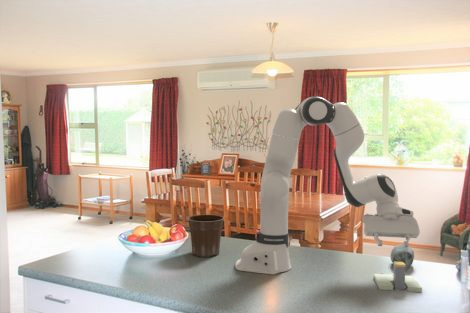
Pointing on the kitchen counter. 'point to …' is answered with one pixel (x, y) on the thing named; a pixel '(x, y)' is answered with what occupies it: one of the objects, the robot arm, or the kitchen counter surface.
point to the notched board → (387, 282)
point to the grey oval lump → (402, 255)
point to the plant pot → (205, 234)
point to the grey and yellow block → (399, 276)
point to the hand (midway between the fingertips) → (393, 245)
